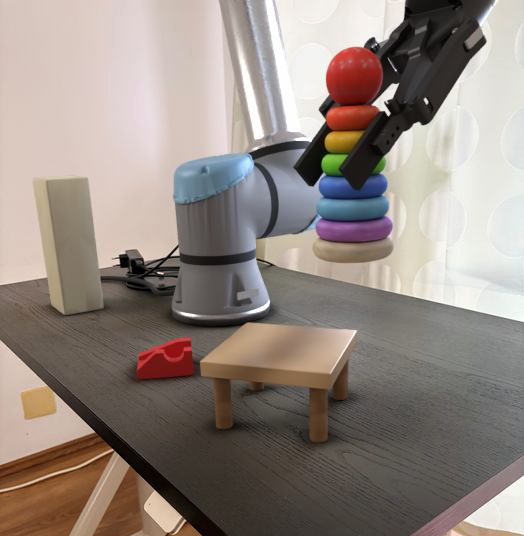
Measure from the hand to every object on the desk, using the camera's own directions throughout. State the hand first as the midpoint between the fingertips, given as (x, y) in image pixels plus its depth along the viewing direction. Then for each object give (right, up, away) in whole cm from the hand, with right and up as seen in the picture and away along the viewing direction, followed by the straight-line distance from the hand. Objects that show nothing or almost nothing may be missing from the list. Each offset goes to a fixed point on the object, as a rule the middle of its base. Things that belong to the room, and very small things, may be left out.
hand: (325, 178), depth 54 cm
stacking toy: (+3, -7, +5) cm, 9 cm away
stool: (-4, -22, +5) cm, 23 cm away
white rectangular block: (-36, -9, +45) cm, 58 cm away
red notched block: (-17, -18, +16) cm, 30 cm away
